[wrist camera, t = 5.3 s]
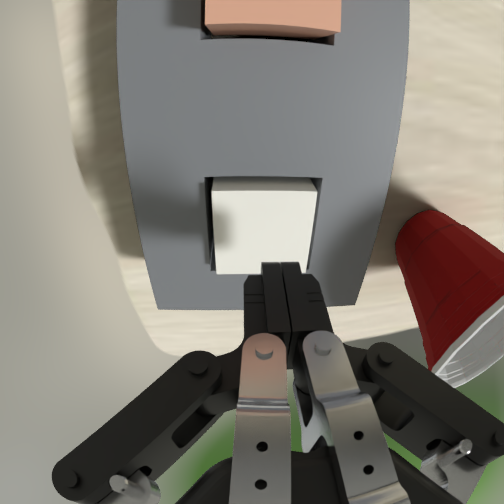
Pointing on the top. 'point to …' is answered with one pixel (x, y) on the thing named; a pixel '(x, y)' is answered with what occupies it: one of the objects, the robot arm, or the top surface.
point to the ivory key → (261, 221)
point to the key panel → (257, 137)
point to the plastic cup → (453, 294)
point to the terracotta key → (274, 17)
